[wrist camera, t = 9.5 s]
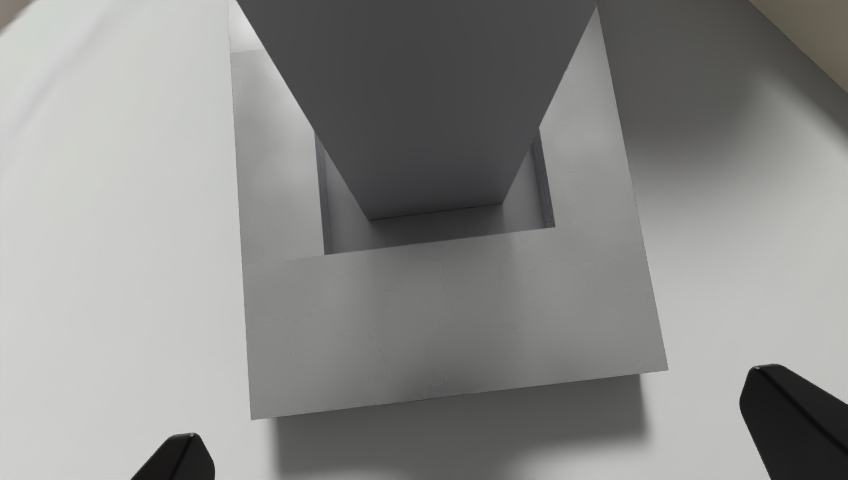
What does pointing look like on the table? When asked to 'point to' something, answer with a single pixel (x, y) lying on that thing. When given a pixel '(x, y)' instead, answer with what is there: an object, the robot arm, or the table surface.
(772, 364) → the robot arm
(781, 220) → the table surface
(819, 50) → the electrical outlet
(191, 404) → the table surface
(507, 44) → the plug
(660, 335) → the socket plate
